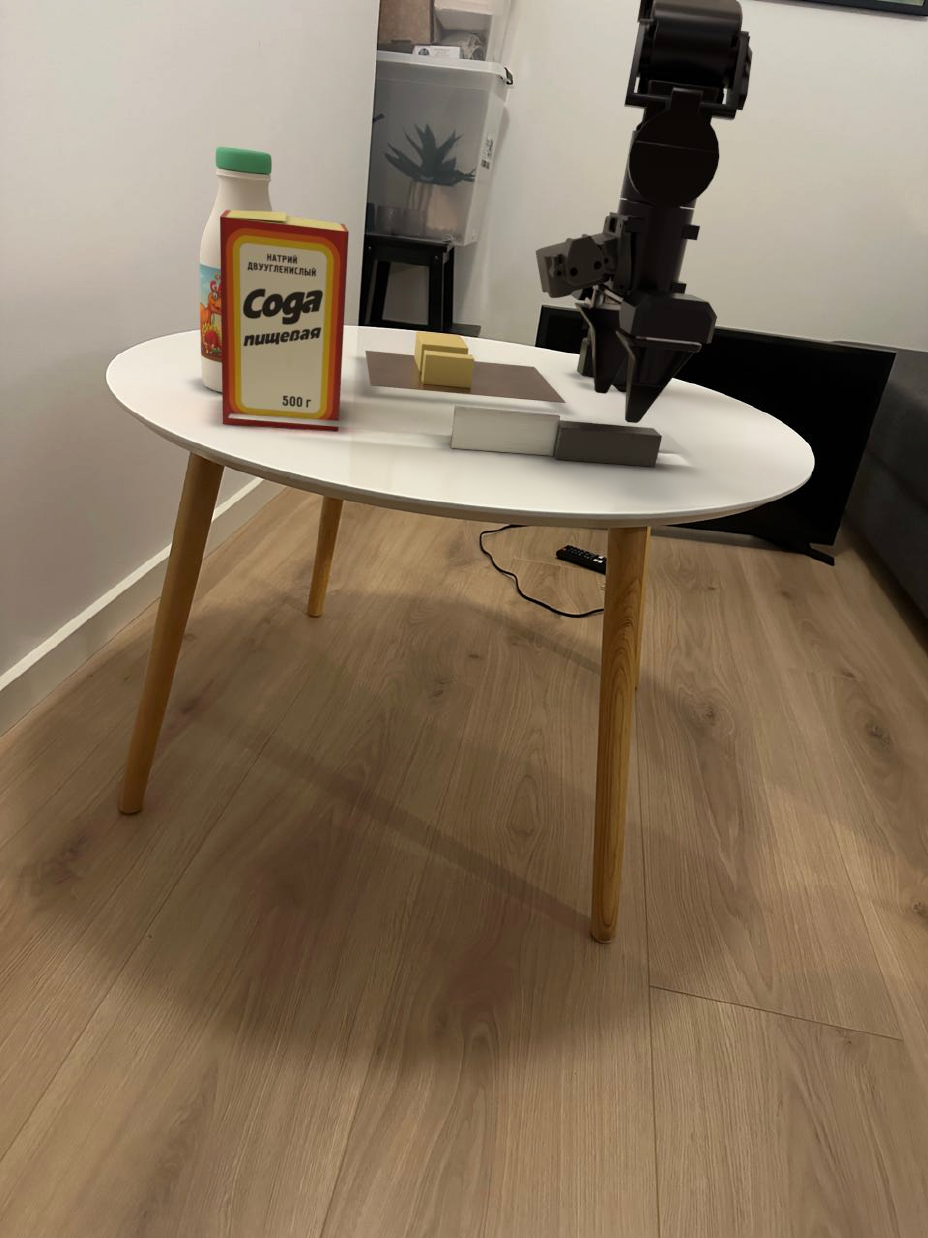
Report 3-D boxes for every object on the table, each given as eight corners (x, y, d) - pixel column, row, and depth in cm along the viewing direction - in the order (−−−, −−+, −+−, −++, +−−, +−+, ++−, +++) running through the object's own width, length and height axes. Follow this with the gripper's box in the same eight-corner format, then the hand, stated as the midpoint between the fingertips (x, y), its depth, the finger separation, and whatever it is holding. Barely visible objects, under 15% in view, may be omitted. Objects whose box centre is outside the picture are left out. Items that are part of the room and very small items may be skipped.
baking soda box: (335, 410, 78) (344, 218, 71) (338, 431, 73) (349, 226, 65) (227, 402, 76) (225, 204, 69) (222, 423, 71) (219, 210, 63)
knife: (646, 458, 77) (655, 420, 75) (655, 467, 75) (664, 427, 73) (448, 442, 74) (453, 402, 72) (452, 451, 72) (457, 410, 70)
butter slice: (468, 384, 89) (472, 354, 88) (471, 388, 88) (474, 358, 86) (421, 379, 88) (424, 350, 87) (422, 383, 87) (425, 353, 86)
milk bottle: (193, 376, 83) (187, 140, 73) (272, 376, 86) (275, 152, 77) (212, 398, 77) (207, 145, 67) (295, 397, 80) (302, 157, 71)
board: (533, 375, 102) (534, 366, 101) (564, 412, 88) (566, 402, 87) (364, 359, 98) (365, 350, 98) (369, 395, 84) (370, 384, 84)
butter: (457, 361, 98) (460, 335, 97) (465, 376, 92) (468, 347, 91) (414, 357, 97) (416, 330, 96) (419, 372, 91) (422, 343, 90)
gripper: (530, 184, 72) (503, 372, 79) (587, 197, 56) (547, 431, 63) (655, 201, 74) (618, 382, 81) (745, 219, 58) (688, 443, 65)
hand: (615, 406), depth 73 cm, fingers open, 9 cm apart
